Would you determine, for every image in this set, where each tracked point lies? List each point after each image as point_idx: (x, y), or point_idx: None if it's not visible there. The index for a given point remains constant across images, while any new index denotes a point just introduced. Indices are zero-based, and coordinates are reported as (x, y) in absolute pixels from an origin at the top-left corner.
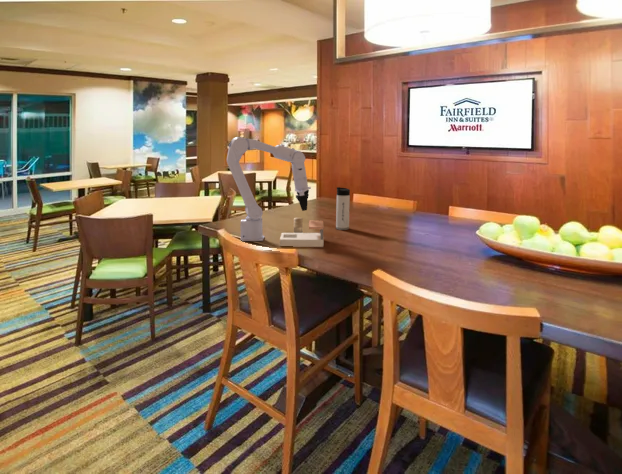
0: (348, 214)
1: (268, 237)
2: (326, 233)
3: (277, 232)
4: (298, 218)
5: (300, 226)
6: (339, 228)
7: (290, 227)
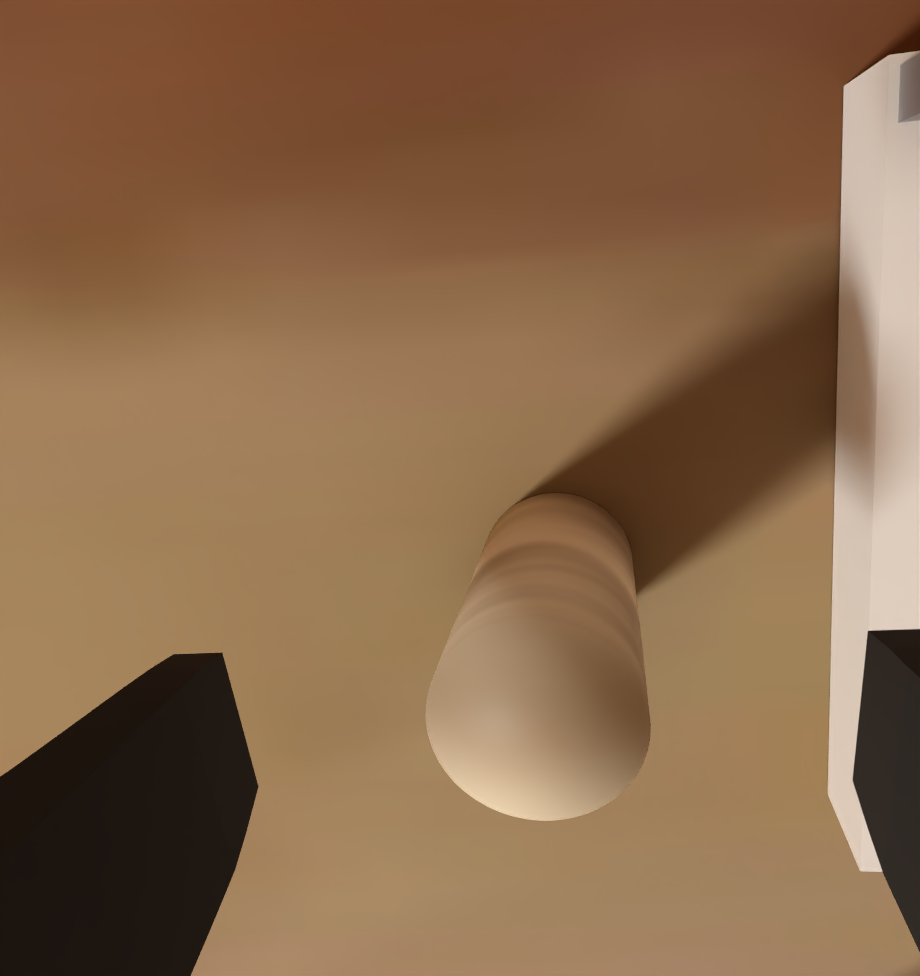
0: None
1: (707, 967)
2: (323, 61)
3: (383, 866)
4: (540, 717)
5: (621, 592)
6: None
7: (36, 708)
